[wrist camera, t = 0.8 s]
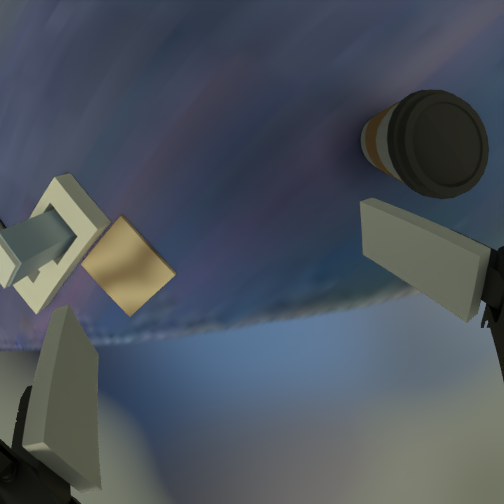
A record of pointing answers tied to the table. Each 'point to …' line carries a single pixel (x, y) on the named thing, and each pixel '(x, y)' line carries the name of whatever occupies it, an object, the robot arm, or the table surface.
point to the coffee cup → (428, 143)
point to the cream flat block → (88, 231)
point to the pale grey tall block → (32, 245)
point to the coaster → (127, 266)
